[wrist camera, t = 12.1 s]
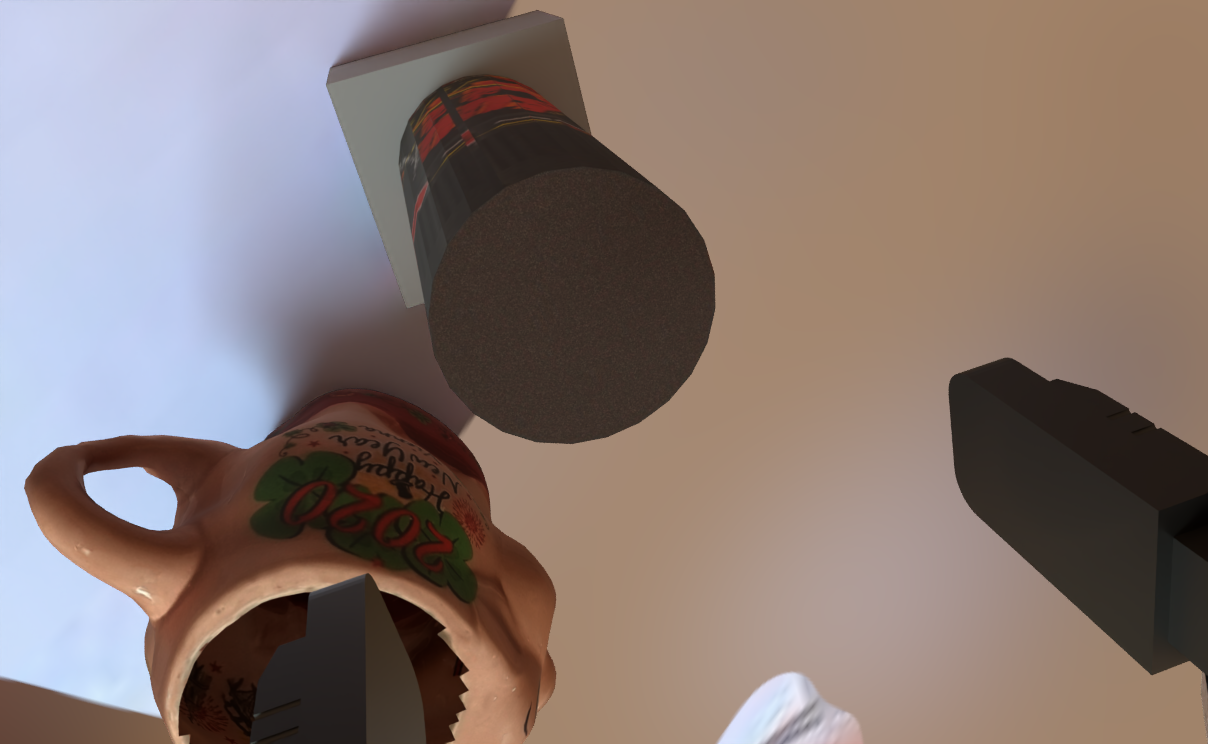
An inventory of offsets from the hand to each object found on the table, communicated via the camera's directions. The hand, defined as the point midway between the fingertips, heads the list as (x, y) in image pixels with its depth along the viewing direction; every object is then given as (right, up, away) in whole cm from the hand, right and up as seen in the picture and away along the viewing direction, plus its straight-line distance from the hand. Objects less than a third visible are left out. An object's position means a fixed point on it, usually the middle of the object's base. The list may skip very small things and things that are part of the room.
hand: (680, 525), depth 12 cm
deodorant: (-5, +9, +20) cm, 23 cm away
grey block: (-6, +11, +24) cm, 28 cm away
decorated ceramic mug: (-13, -2, +29) cm, 32 cm away
